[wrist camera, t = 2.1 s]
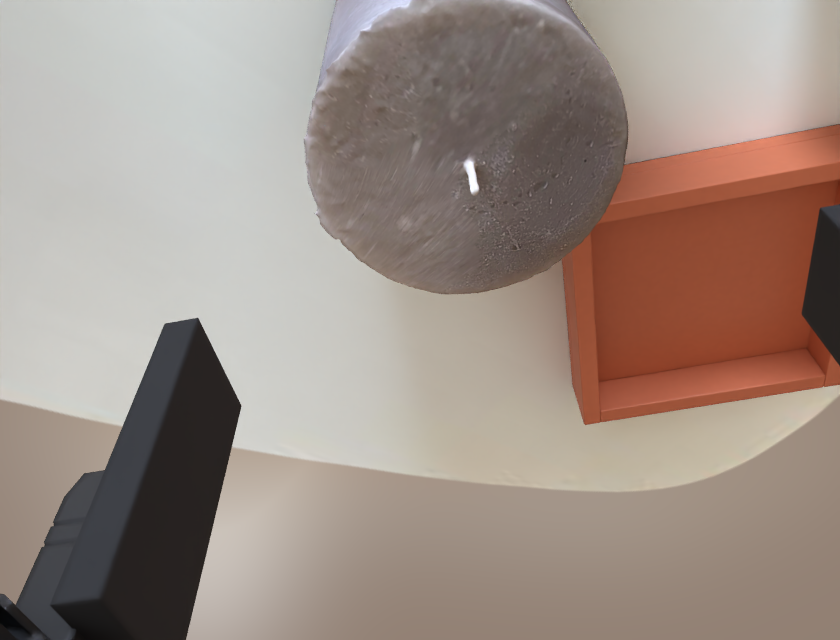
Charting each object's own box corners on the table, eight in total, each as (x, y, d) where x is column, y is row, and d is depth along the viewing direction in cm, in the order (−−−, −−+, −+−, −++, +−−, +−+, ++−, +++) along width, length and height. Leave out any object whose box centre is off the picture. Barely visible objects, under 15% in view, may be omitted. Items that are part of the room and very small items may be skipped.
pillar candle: (584, 60, 33) (694, 228, 21) (406, 166, 36) (416, 365, 24) (483, -153, 28) (554, -88, 16) (284, -8, 31) (221, 137, 19)
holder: (572, 385, 46) (584, 425, 43) (554, 177, 37) (568, 211, 34) (813, 346, 44) (841, 384, 42) (857, 120, 35) (897, 150, 32)
